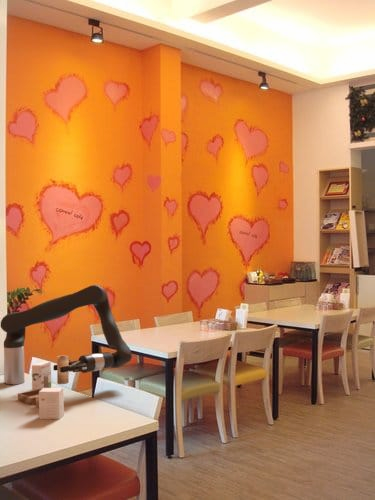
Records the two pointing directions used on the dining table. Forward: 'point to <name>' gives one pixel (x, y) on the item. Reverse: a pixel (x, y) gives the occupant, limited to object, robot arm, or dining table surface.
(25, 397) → the tray
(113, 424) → the dining table surface
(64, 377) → the tan hollow cylinder
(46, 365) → the ink box
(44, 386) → the stand
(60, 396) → the small box
